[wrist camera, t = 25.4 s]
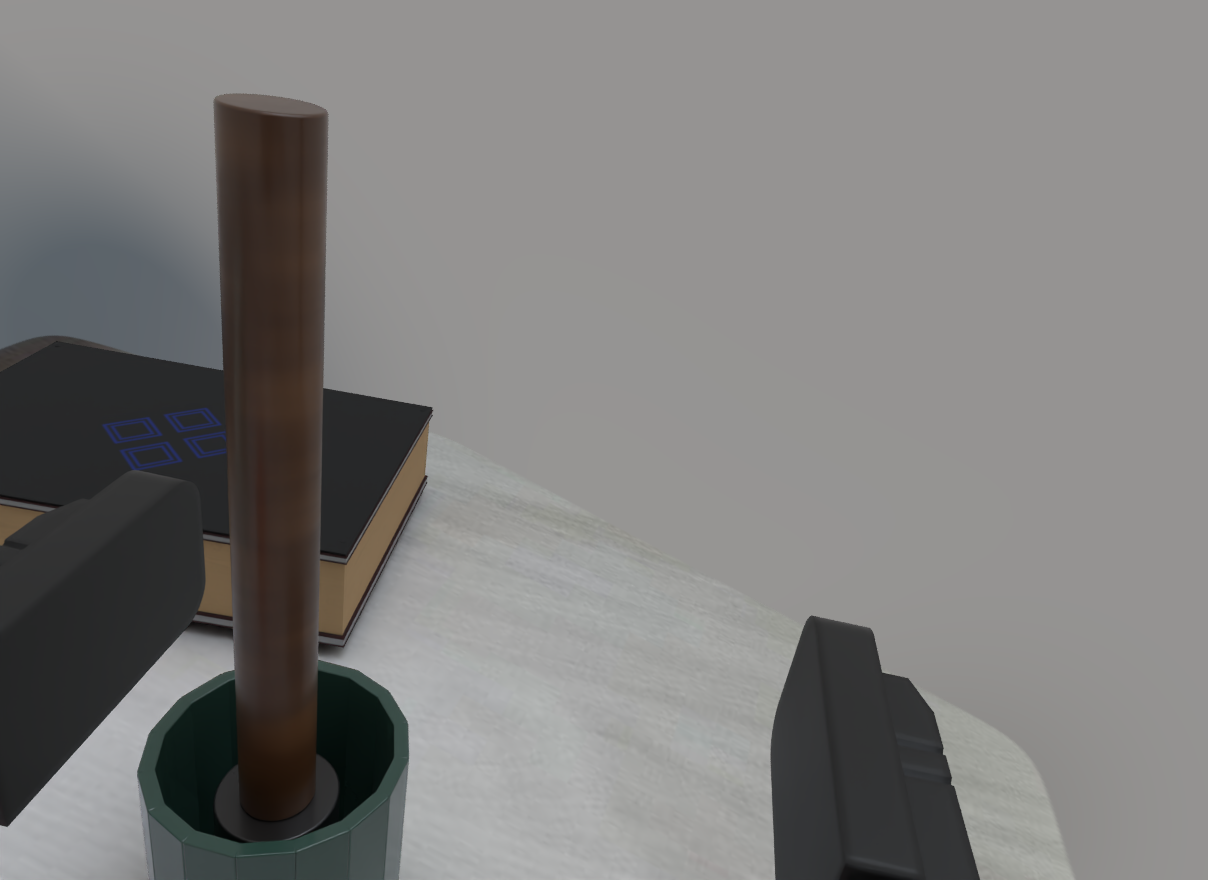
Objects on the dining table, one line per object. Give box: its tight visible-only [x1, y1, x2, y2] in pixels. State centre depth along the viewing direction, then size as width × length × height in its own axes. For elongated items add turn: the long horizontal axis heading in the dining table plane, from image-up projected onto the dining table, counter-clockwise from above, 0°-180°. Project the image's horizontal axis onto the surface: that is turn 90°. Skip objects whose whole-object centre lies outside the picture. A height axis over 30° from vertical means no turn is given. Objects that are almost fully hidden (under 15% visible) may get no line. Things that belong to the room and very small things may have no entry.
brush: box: [213, 94, 340, 843], centre depth 26 cm, size 4×4×28 cm
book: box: [0, 341, 433, 647], centre depth 51 cm, size 17×25×7 cm
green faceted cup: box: [137, 660, 409, 880], centre depth 31 cm, size 8×8×9 cm
